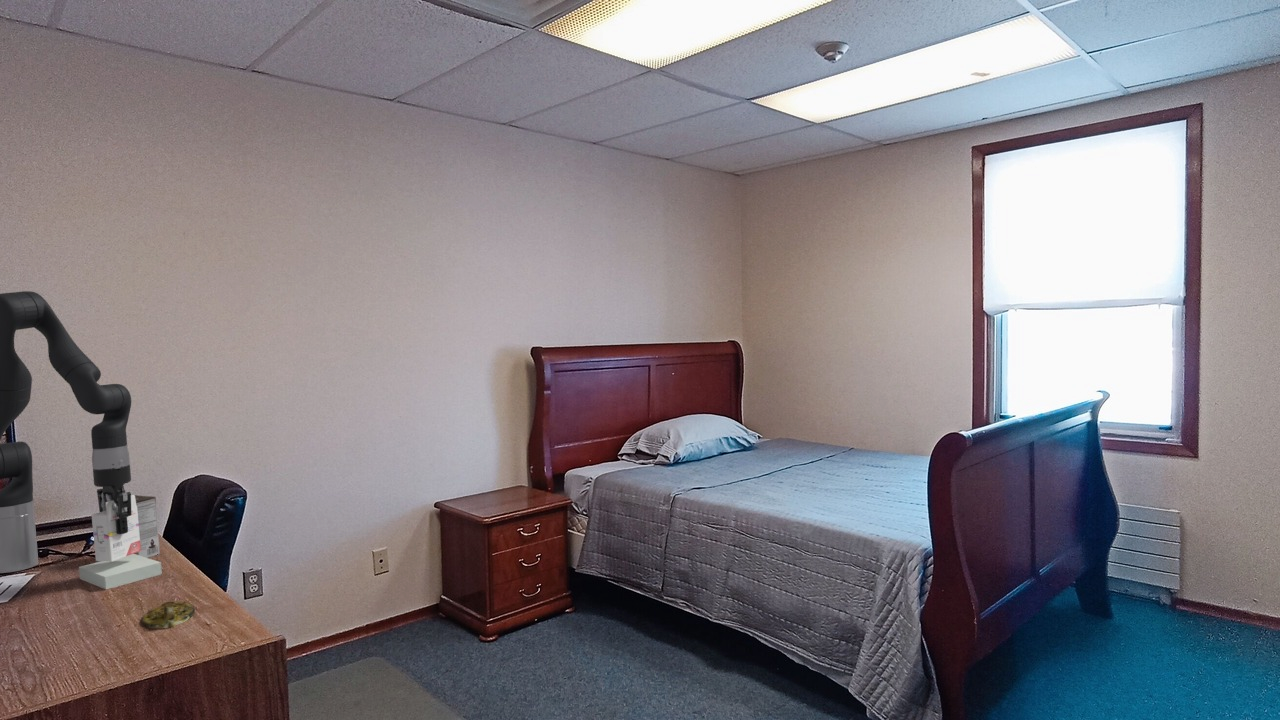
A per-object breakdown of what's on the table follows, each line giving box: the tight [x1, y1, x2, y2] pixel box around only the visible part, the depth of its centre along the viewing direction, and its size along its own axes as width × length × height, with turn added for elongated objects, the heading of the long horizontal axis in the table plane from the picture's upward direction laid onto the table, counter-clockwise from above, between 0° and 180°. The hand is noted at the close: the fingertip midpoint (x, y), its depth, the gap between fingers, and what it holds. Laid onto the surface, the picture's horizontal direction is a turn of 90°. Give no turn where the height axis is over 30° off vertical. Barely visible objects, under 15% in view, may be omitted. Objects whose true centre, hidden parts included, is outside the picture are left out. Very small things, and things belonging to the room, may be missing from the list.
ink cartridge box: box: [91, 494, 141, 562], centre depth 184 cm, size 9×5×15 cm, turn 168°
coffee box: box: [134, 494, 160, 559], centre depth 201 cm, size 9×6×16 cm
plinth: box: [78, 554, 163, 590], centre depth 184 cm, size 16×12×3 cm
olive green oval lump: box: [142, 601, 196, 629], centre depth 155 cm, size 9×5×15 cm
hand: (116, 531), depth 184 cm, fingers closed on ink cartridge box, 6 cm apart
